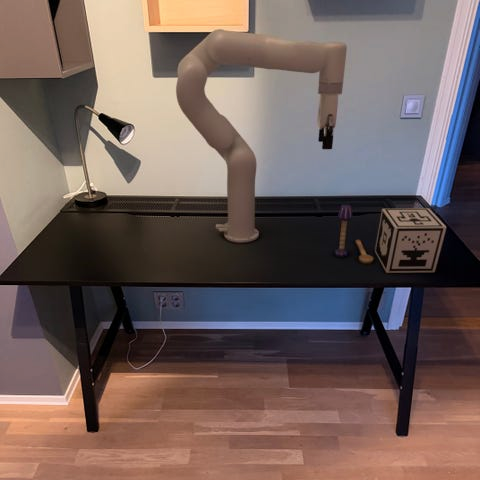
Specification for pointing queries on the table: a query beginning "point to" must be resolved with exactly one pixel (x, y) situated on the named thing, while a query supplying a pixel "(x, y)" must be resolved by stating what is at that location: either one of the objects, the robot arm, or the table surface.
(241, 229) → the robot arm
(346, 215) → the toy lamp
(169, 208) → the table surface
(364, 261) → the wooden spoon
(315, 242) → the table surface
